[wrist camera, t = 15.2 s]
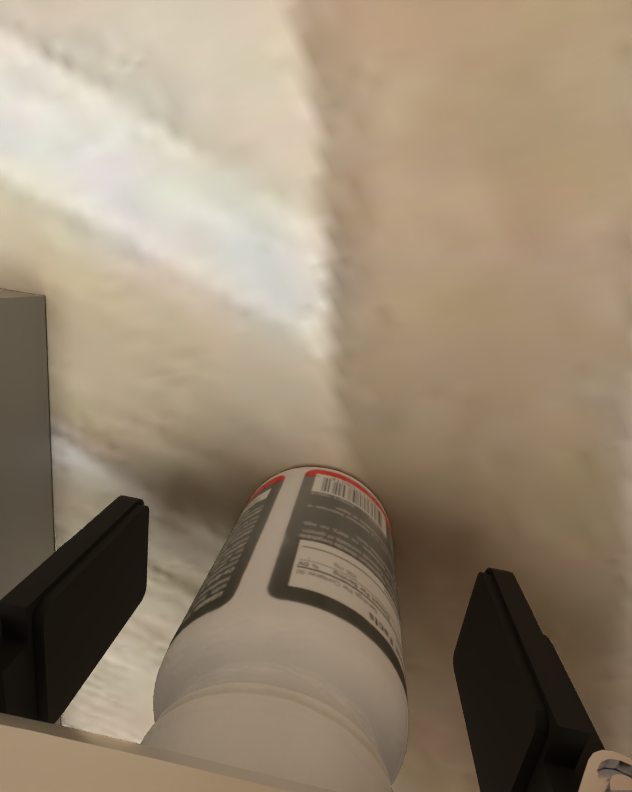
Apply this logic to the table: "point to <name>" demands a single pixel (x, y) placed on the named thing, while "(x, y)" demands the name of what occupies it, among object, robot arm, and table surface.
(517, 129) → the table surface
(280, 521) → the pill bottle
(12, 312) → the tote
